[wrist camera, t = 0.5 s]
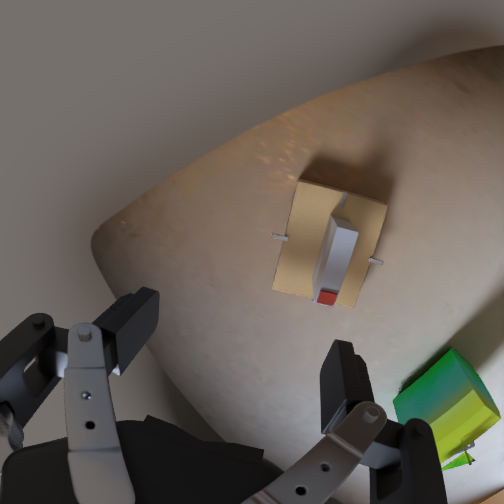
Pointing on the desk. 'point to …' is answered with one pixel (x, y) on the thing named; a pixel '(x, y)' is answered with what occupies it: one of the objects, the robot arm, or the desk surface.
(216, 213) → the desk surface
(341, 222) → the upright gray plate
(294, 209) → the block
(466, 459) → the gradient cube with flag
